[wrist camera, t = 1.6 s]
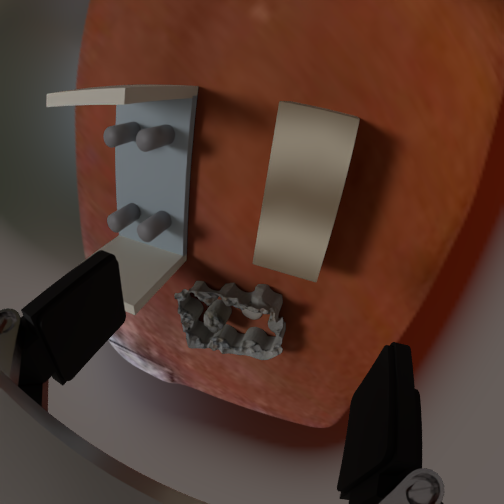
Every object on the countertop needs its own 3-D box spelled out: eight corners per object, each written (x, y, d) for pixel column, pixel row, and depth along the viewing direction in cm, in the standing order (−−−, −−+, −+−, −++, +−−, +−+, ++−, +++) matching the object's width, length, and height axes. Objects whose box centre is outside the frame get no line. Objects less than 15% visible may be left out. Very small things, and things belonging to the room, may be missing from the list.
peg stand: (123, 85, 23) (46, 94, 15) (198, 86, 21) (125, 87, 14) (124, 240, 31) (68, 283, 24) (186, 260, 30) (135, 315, 22)
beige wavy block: (291, 101, 20) (279, 101, 17) (357, 116, 19) (359, 119, 16) (266, 241, 26) (252, 263, 23) (321, 256, 26) (316, 282, 22)
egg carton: (286, 282, 28) (276, 309, 24) (288, 340, 31) (279, 368, 28) (184, 273, 31) (165, 296, 28) (198, 328, 35) (183, 351, 31)
